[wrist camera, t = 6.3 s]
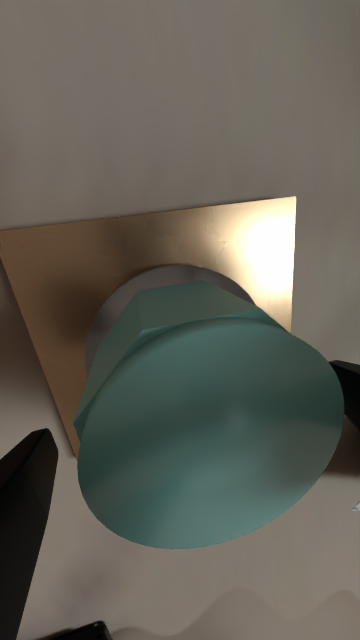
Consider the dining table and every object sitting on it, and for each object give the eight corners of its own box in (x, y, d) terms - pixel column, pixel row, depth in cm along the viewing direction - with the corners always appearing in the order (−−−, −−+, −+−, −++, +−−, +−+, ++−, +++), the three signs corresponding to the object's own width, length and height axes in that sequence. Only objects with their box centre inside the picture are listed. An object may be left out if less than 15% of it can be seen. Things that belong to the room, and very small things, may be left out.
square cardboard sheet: (277, 406, 15) (343, 481, 10) (85, 456, 13) (59, 572, 9) (282, 200, 11) (394, 168, 6) (5, 233, 9) (-127, 223, 4)
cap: (251, 401, 12) (331, 506, 7) (122, 433, 11) (114, 578, 6) (249, 272, 10) (361, 301, 5) (86, 298, 9) (31, 365, 4)
